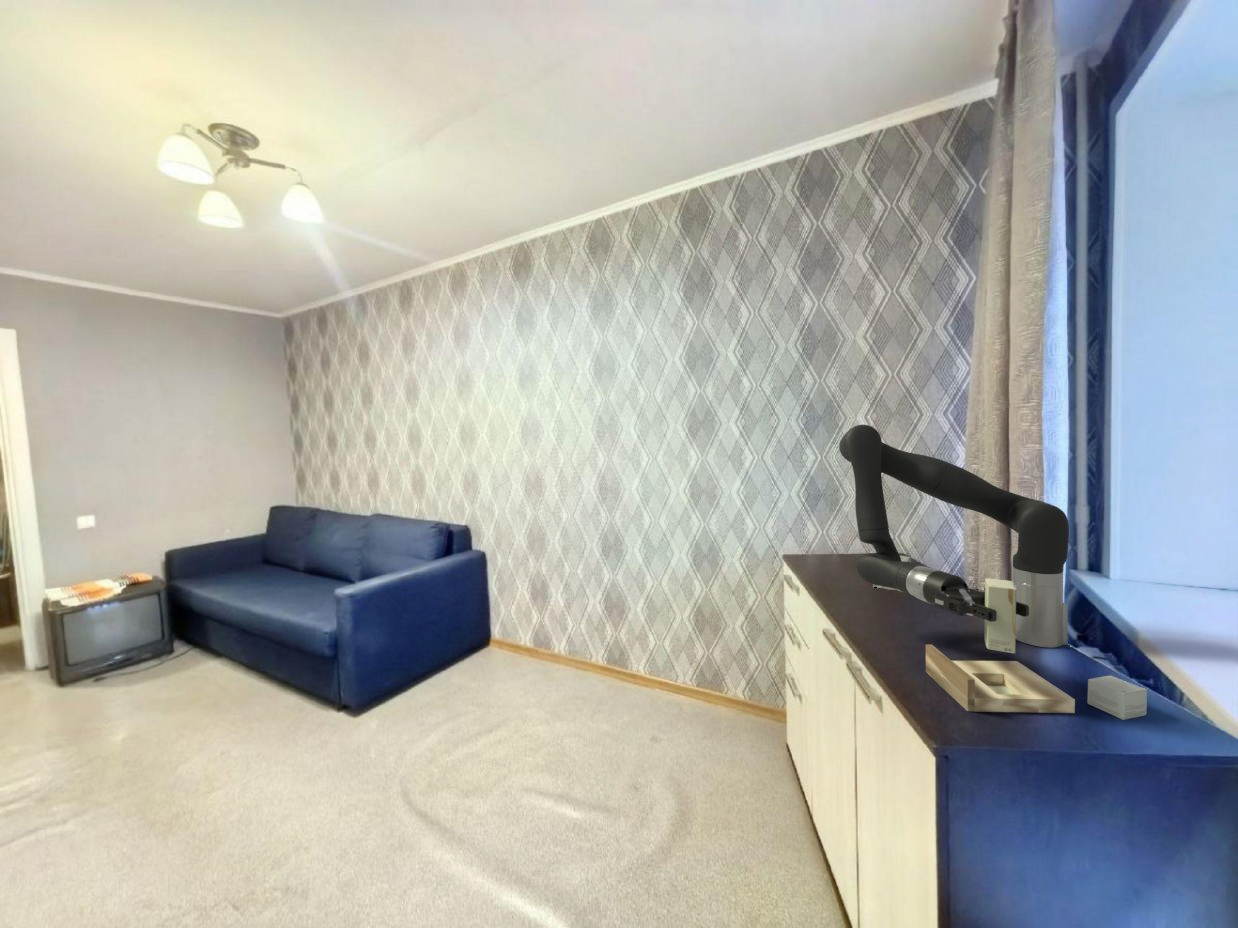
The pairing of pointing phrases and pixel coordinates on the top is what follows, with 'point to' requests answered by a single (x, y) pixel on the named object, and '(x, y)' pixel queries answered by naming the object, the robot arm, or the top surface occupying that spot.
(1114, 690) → the small box
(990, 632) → the skincare box
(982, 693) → the rack
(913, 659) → the top surface
